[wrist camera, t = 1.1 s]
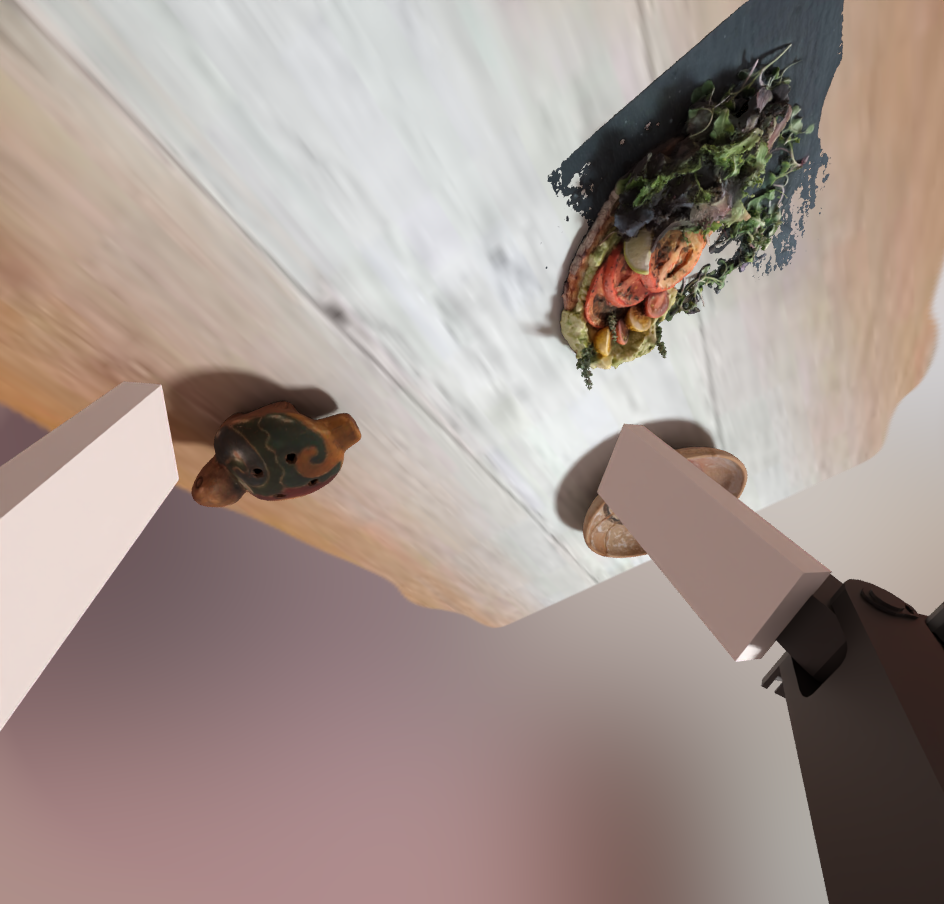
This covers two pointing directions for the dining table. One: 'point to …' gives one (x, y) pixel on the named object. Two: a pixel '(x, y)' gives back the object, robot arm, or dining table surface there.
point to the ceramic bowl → (614, 537)
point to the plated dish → (697, 174)
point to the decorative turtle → (274, 455)
